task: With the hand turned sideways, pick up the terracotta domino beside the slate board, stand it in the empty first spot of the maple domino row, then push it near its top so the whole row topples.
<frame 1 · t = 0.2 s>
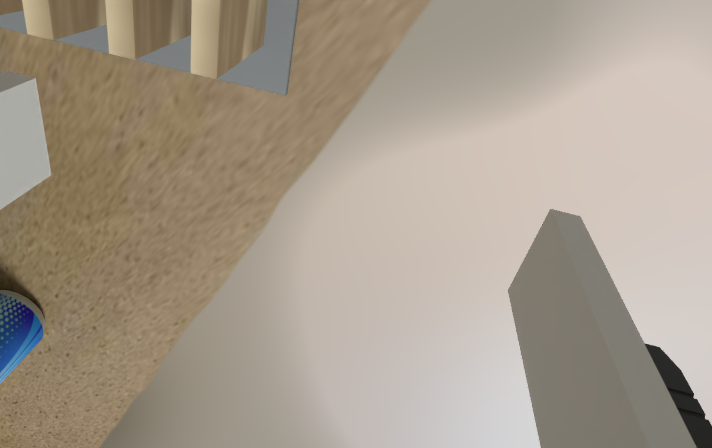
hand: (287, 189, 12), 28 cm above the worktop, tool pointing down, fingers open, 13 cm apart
beer can: (17, 311, 58), on the worktop
tile 5: (256, 8, 36), resting on slate board
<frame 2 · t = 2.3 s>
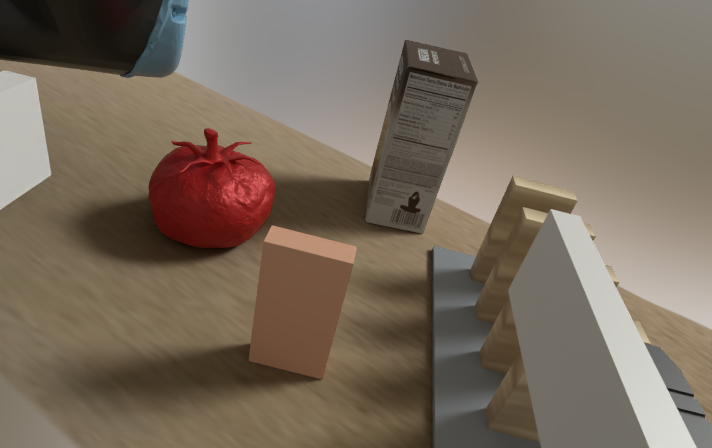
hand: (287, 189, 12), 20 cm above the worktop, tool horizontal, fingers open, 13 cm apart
tile 2: (524, 427, 31), resting on slate board
slate board: (512, 382, 35), on the worktop
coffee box: (393, 207, 52), on the worktop
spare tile: (288, 360, 32), on the worktop
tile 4: (504, 319, 39), resting on slate board
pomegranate: (211, 229, 42), on the worktop
tile 3: (513, 367, 35), resting on slate board
tile 5: (497, 280, 44), resting on slate board
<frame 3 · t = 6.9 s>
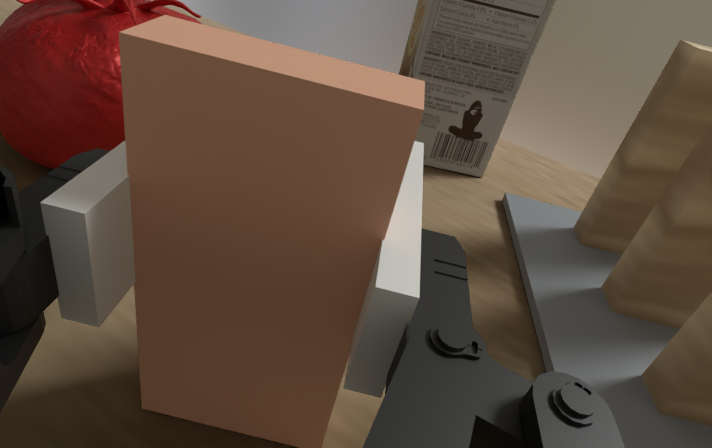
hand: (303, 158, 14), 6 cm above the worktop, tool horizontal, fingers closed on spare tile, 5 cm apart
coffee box: (431, 143, 33), on the worktop
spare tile: (240, 405, 14), on the worktop, touching gripper
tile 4: (660, 312, 21), resting on slate board
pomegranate: (124, 155, 24), on the worktop
tile 5: (622, 247, 25), resting on slate board
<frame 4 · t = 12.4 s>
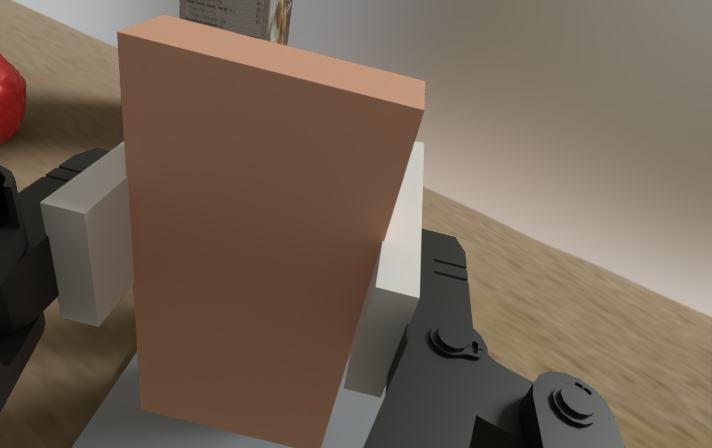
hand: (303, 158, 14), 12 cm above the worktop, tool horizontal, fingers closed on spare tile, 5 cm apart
slate board: (291, 326, 24), on the worktop
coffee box: (233, 136, 42), on the worktop
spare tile: (239, 406, 14), point 6 cm above the worktop, touching gripper
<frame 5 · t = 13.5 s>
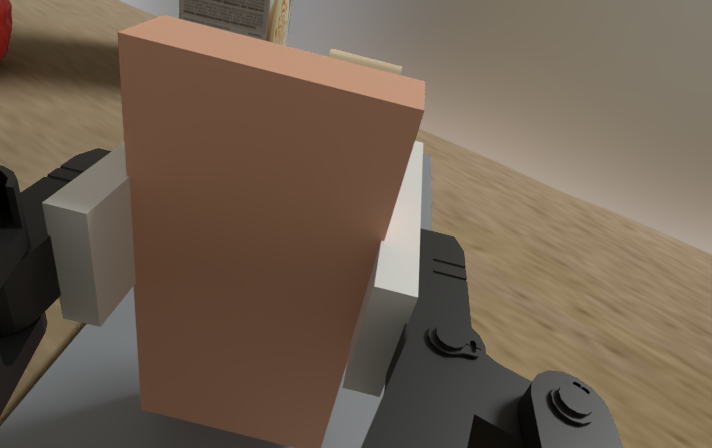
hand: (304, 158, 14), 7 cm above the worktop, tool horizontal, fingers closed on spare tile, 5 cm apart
slate board: (302, 258, 22), on the worktop
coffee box: (235, 82, 39), on the worktop
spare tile: (240, 406, 14), point 1 cm above the worktop, touching gripper
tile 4: (332, 167, 27), point 1 cm above the worktop, tilted 71°, touching slate board, tile 3, tile 5
when the fingers open (7 cm above the worktop, at t = 13.6 s): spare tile stays where it is, resting on slate board.
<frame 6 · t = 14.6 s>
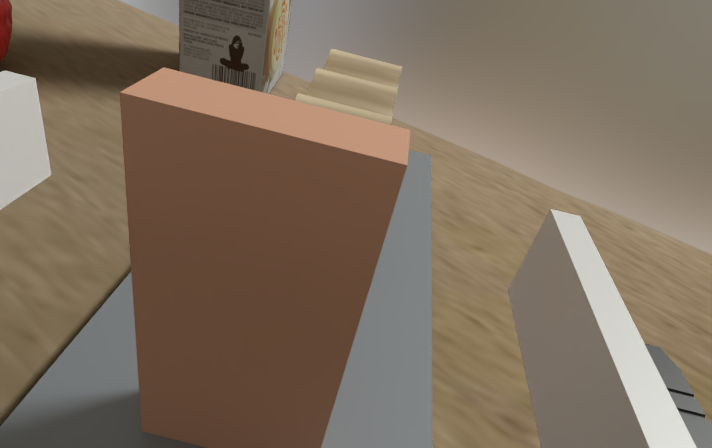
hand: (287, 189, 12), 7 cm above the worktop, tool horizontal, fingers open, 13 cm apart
tile 2: (291, 275, 19), point 1 cm above the worktop, tilted 71°, touching slate board, tile 3
slate board: (302, 258, 22), on the worktop
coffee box: (235, 82, 39), on the worktop
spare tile: (236, 427, 14), resting on slate board
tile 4: (333, 168, 27), point 1 cm above the worktop, tilted 71°, touching slate board, tile 3, tile 5
tile 3: (316, 212, 23), point 1 cm above the worktop, tilted 71°, touching slate board, tile 2, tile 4
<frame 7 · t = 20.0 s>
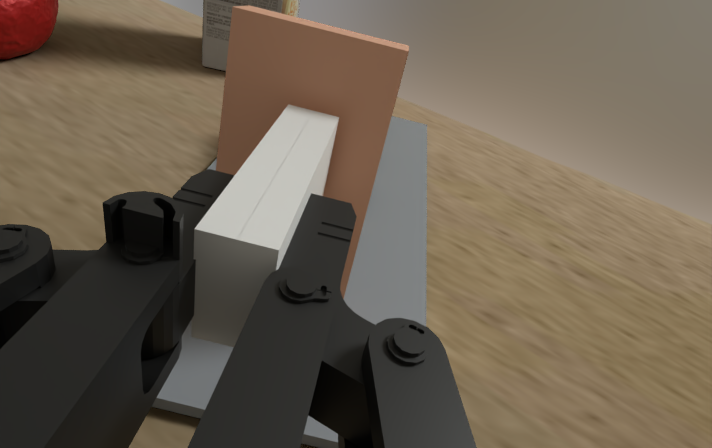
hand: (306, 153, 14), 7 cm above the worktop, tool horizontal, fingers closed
slate board: (317, 198, 26), on the worktop
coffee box: (250, 63, 43), on the worktop
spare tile: (274, 302, 18), point 1 cm above the worktop, tilted 7°, touching gripper, slate board
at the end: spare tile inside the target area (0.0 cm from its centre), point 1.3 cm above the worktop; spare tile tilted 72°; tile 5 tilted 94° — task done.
